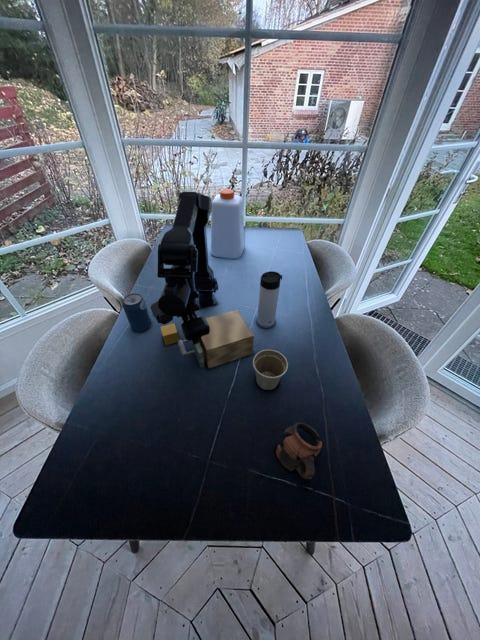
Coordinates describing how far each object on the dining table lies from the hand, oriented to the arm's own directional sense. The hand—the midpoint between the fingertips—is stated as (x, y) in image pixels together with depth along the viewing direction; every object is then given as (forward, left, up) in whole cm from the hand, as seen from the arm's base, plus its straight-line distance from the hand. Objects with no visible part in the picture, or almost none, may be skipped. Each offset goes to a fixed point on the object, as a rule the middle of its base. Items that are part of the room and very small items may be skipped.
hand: (190, 332), depth 75 cm
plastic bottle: (-57, +34, -11) cm, 68 cm away
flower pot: (+17, +17, -11) cm, 26 cm away
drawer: (0, +5, -10) cm, 11 cm away
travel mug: (-5, +28, -11) cm, 31 cm away
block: (-10, -5, -11) cm, 16 cm away
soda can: (-20, -13, -11) cm, 27 cm away
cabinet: (0, +10, -11) cm, 15 cm away
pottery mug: (+38, +14, -11) cm, 42 cm away
